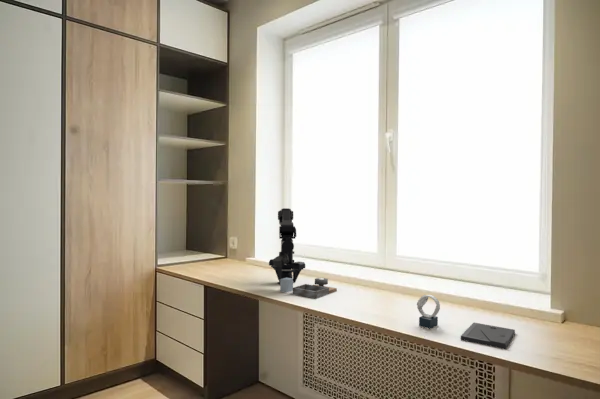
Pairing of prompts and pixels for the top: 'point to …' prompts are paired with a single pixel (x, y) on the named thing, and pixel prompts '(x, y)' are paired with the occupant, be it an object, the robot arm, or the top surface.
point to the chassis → (313, 290)
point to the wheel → (321, 281)
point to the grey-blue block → (286, 285)
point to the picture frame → (488, 335)
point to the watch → (426, 319)
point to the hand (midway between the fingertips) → (286, 281)
